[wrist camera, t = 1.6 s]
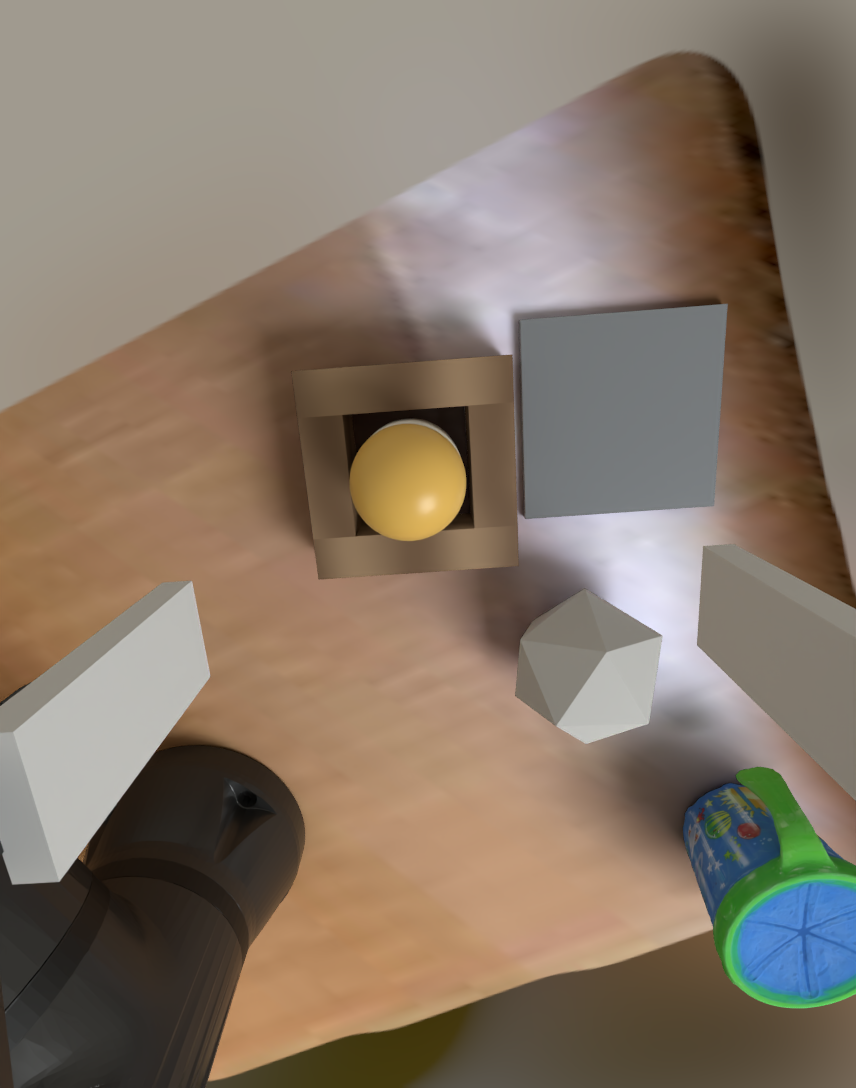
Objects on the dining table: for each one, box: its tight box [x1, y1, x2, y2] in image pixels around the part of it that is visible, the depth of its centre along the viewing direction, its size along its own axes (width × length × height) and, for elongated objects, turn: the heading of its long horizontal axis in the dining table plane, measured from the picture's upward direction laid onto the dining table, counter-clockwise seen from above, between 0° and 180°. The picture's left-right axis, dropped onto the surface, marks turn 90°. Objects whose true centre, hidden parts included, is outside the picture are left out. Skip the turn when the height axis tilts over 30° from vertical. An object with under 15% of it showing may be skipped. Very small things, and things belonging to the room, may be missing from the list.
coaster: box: [519, 304, 727, 519], centre depth 35 cm, size 12×12×1 cm
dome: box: [349, 418, 466, 541], centre depth 30 cm, size 6×6×7 cm
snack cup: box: [683, 767, 856, 1008], centre depth 39 cm, size 16×10×10 cm
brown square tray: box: [291, 355, 519, 579], centre depth 35 cm, size 12×12×4 cm
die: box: [515, 589, 662, 744], centre depth 36 cm, size 8×9×10 cm
